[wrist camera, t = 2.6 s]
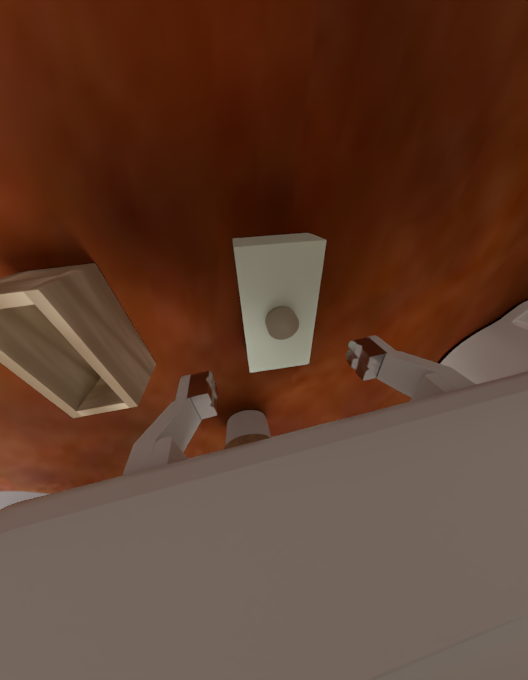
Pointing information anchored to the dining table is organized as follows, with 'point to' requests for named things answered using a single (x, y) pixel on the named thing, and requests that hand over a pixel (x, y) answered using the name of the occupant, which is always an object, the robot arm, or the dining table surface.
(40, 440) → the dining table surface
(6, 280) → the box base
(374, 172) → the dining table surface
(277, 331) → the lid
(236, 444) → the coffee cup
